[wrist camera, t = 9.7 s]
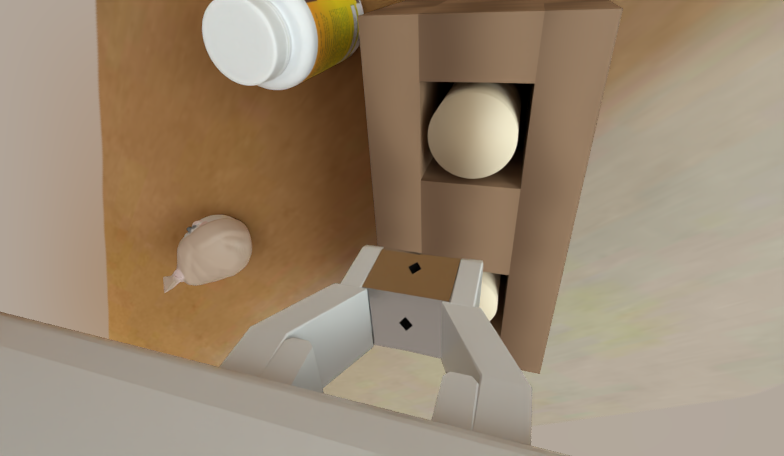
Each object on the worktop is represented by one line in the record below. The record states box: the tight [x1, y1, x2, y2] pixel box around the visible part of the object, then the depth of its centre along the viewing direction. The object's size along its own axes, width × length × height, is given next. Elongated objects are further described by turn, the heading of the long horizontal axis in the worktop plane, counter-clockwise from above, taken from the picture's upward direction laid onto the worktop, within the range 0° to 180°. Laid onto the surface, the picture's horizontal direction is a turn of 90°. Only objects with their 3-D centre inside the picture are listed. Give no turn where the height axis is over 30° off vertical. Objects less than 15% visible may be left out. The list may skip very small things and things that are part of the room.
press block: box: [358, 0, 623, 374], centre depth 25 cm, size 10×20×10 cm, turn 2°
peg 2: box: [479, 272, 501, 321], centre depth 27 cm, size 4×4×9 cm
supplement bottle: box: [202, 0, 364, 90], centre depth 23 cm, size 6×6×10 cm
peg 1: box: [428, 82, 523, 179], centre depth 22 cm, size 4×4×9 cm
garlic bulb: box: [163, 215, 252, 293], centre depth 38 cm, size 7×6×8 cm
